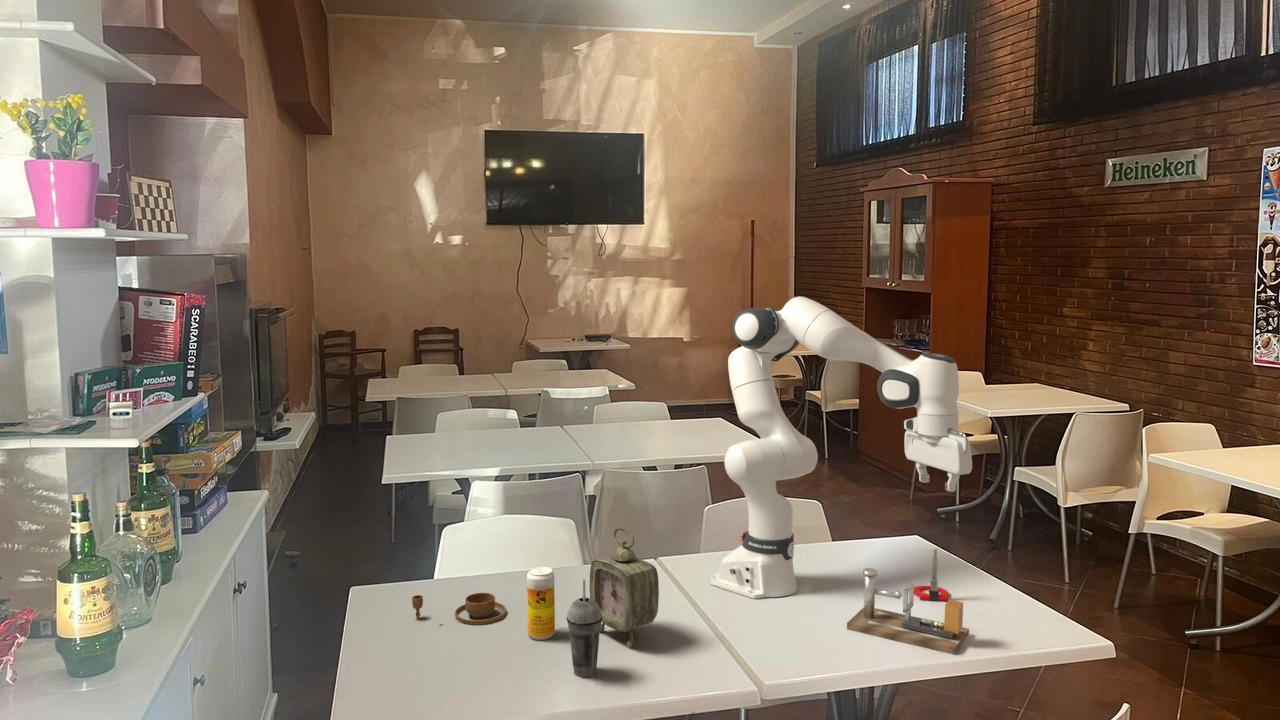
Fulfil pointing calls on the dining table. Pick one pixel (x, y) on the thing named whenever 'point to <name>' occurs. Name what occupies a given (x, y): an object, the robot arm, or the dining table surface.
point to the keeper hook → (873, 593)
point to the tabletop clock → (624, 589)
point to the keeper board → (904, 631)
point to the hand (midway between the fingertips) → (937, 486)
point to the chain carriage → (945, 629)
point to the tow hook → (932, 586)
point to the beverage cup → (584, 634)
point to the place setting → (470, 608)
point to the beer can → (540, 603)
